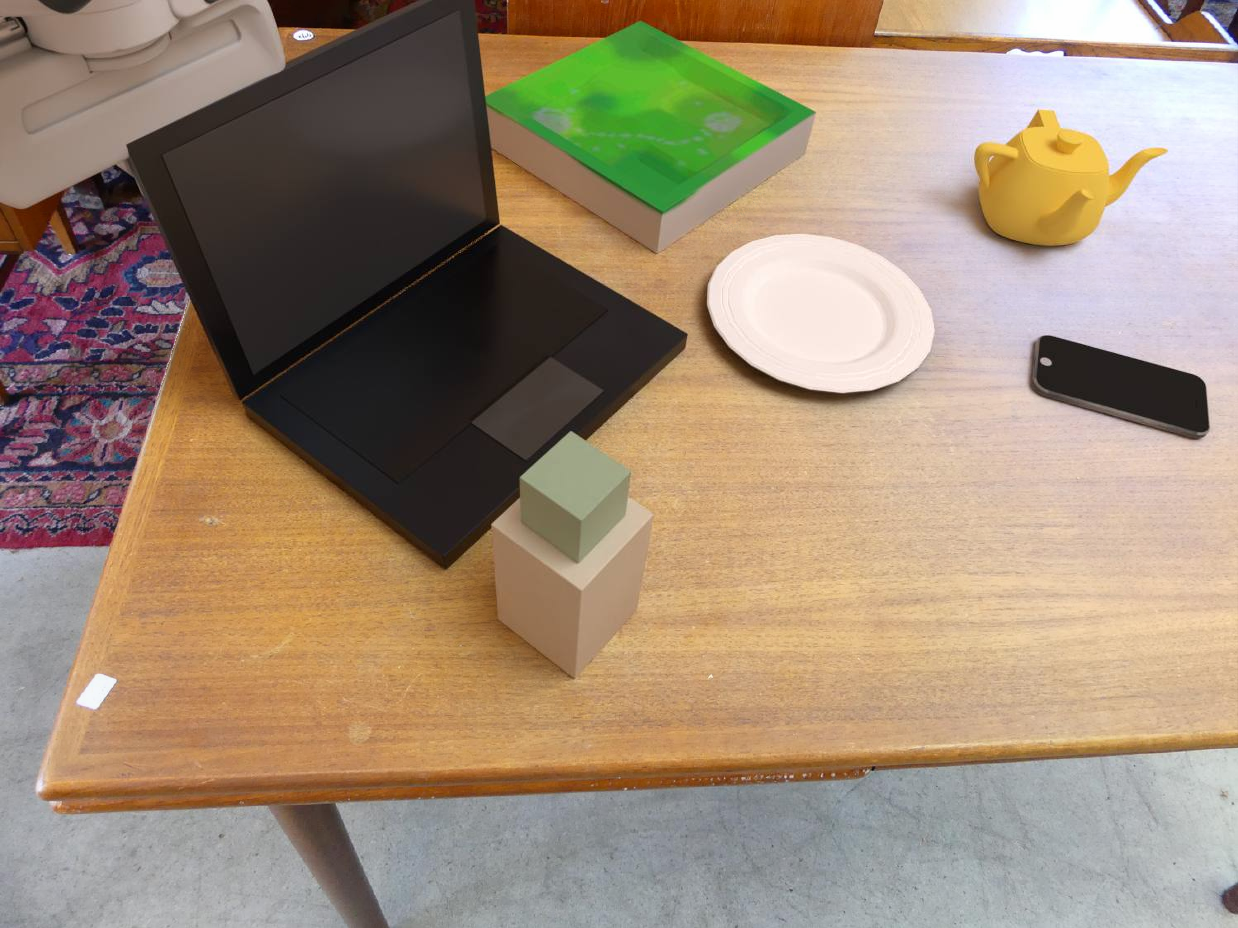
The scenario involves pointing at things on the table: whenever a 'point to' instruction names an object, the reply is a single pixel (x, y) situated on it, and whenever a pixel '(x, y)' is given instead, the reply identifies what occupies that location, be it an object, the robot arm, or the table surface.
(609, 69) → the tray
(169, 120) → the robot arm
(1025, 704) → the table surface
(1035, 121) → the teapot
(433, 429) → the laptop
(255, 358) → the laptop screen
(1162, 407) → the smartphone
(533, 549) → the stand
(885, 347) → the plate
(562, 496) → the block
